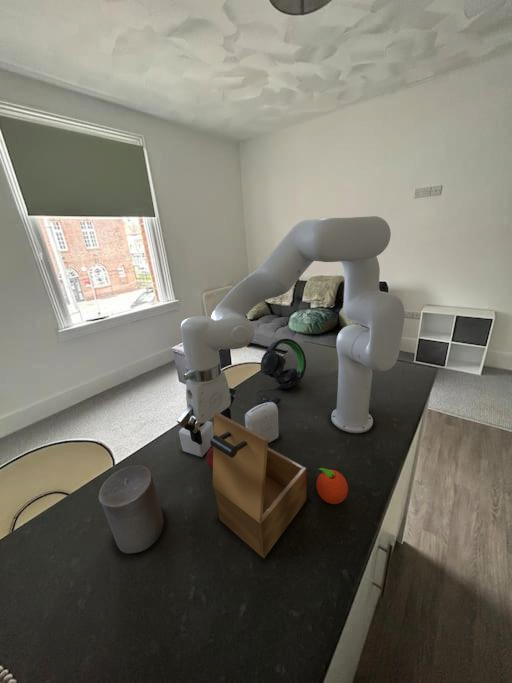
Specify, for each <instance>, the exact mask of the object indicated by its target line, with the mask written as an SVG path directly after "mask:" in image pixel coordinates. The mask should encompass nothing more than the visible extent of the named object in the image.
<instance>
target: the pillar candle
mask: <svg viewBox="0 0 512 683" xmlns="http://www.w3.org/2000/svg"><path fill="white" fill-rule="evenodd" d="M98 493H99V494H98V500H99V503H100V504H101V506H102V509H103V511H104V515H105V517H106V519H107V524H108V525H109V528H110V531H111V534H112V535H113V538H114V540H115V543H116V546H117V548H118V550H120V552H122V553H124V554H136V553H140V552H143V551H146V550H147V549H149V548H150V547H152V545H154V544H155V543H156V542H157V540H158V539H159V538H160V535H161V534H162V532H163V529H164V525H165V524H164V523H165V520H164V514H163V511H162V507H161V505H160V504H161V503H160V500H159V497H158V493H157V490H156V486H155V483H154V478H153V475H152V473H151V471H150V470H149V468H148V467H146V466H144V465H138V464H137V465H136V464H135V465H129V466H125V467H123V468H120V469H119V470H116V471H115V472H113V473H112V474H111V475H109V477H108V478H106V479H105V481H104V482H103V483H102V485H101V488H100V490H99V492H98Z"/></svg>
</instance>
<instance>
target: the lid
mask: <svg viewBox="0 0 512 683" xmlns="http://www.w3.org/2000/svg"><path fill="white" fill-rule="evenodd" d="M213 429H214V436H213V437H212V438H211V440H210V444H211V445H212V446H211V447H213V469H212V488H215V489H216V490H218V491H219V492H220V493H222V494H223V495H224V496H225V497H227V498H228V499H229V500H231V501H232V502H233V503H234V504H236V505H237V506H238V507H239V508H241V509H242V510H243V511H245V512H246V513H247V514H248V515H250V516H251V517H252V518H254V519H255V520H256V521H257V522H259V523H260V522H261V521H262V516H263V502H264V489H265V476H266V463H267V450H268V447H269V443H268V439H267V438H265V437H263V436H261V435H259V434H257V433H256V432H254V431H252V430H250V429H248V428H246V426H245V425H242V424H240V423H238V422H236V421H234V420H233V419H232V418H231V419H229V418H227V417H225V416H223V415H221V413H215V414H214V417H213ZM215 489H214V490H215Z"/></svg>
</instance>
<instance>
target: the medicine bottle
mask: <svg viewBox="0 0 512 683" xmlns="http://www.w3.org/2000/svg"><path fill="white" fill-rule="evenodd" d="M189 419H190V417H189V418H188V420H187V423H188V422H189ZM195 423H196V420H195V421H194V423H193V425H195ZM199 430H200V431H201V437H202V444H201V445H199V444H197V443H196V442H193V441H192V440H191V435H190V431H189V430H186V429H185V428H183V427H181V429H180V430H179V431H178V436H179V441H180V445H181V450H182V452H185V453H187V454H191V455H194V456H197V457H200V458H203V457H204V456H205V454H207V453H208V451H209V450H210V448H211V447H213V446H212V445H211V444H210V440H211V438H212V437H213V436H214V422H212V421H210V420H209V421H207V422H205V423H201V424H200V426H199Z"/></svg>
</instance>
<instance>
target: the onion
mask: <svg viewBox="0 0 512 683" xmlns="http://www.w3.org/2000/svg"><path fill="white" fill-rule="evenodd" d="M205 460H206V463H207V466H208V467H209V468H211V469H212V470H213V446H211V447H210V448H209V450H208V451H207V452H206V459H205Z"/></svg>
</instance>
